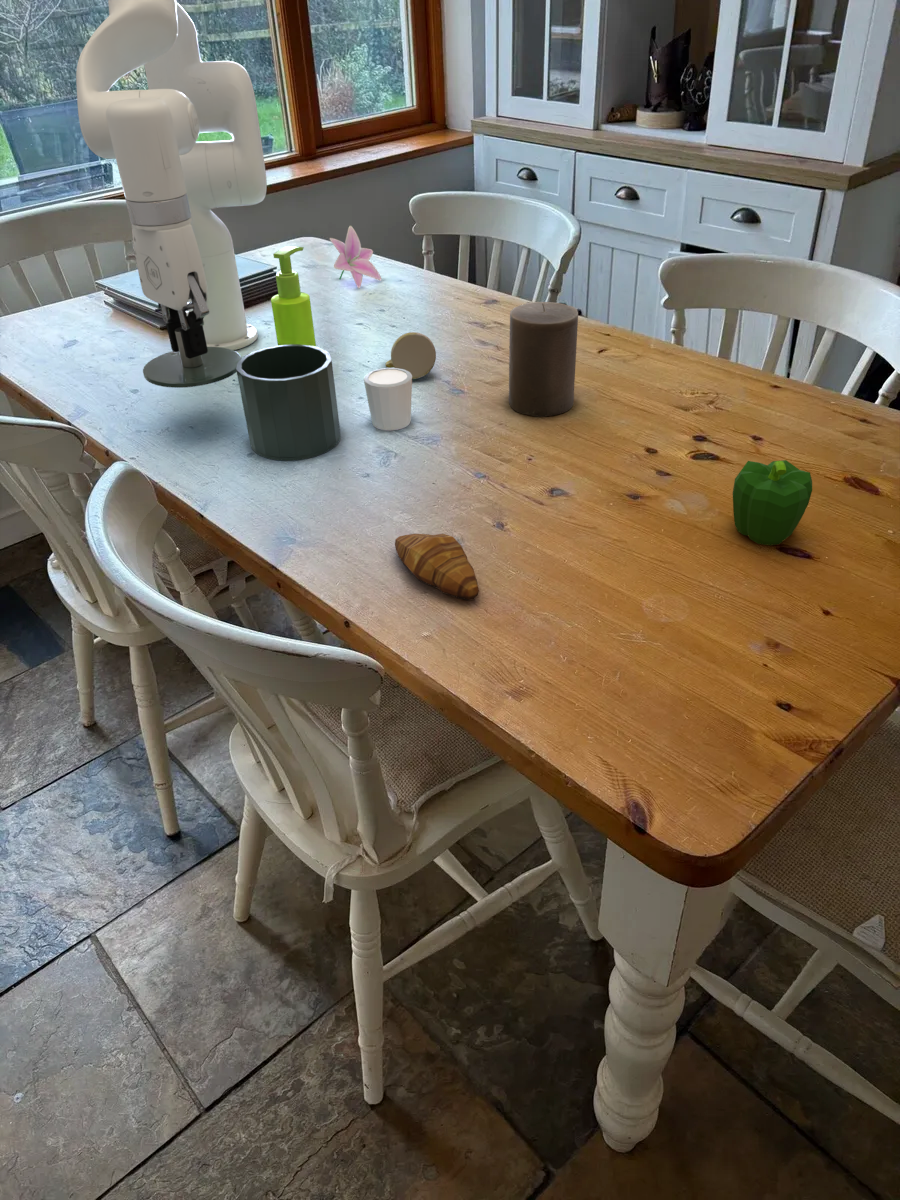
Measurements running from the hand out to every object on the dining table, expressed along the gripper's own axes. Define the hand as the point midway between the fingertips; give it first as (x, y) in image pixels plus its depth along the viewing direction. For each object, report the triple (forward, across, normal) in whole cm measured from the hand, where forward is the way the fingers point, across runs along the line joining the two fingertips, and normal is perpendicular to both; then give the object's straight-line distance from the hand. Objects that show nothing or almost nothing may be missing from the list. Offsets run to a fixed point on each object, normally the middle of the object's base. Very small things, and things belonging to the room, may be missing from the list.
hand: (190, 351), depth 121 cm
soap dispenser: (+11, -3, +20) cm, 24 cm away
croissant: (+12, +52, -3) cm, 53 cm away
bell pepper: (+12, +74, +28) cm, 80 cm away
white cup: (+12, +20, +19) cm, 30 cm away
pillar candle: (+11, +32, +38) cm, 51 cm away
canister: (+11, +14, +6) cm, 19 cm away
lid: (+2, 0, 0) cm, 2 cm away
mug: (+11, +8, +34) cm, 37 cm away
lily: (+11, -35, +58) cm, 68 cm away
